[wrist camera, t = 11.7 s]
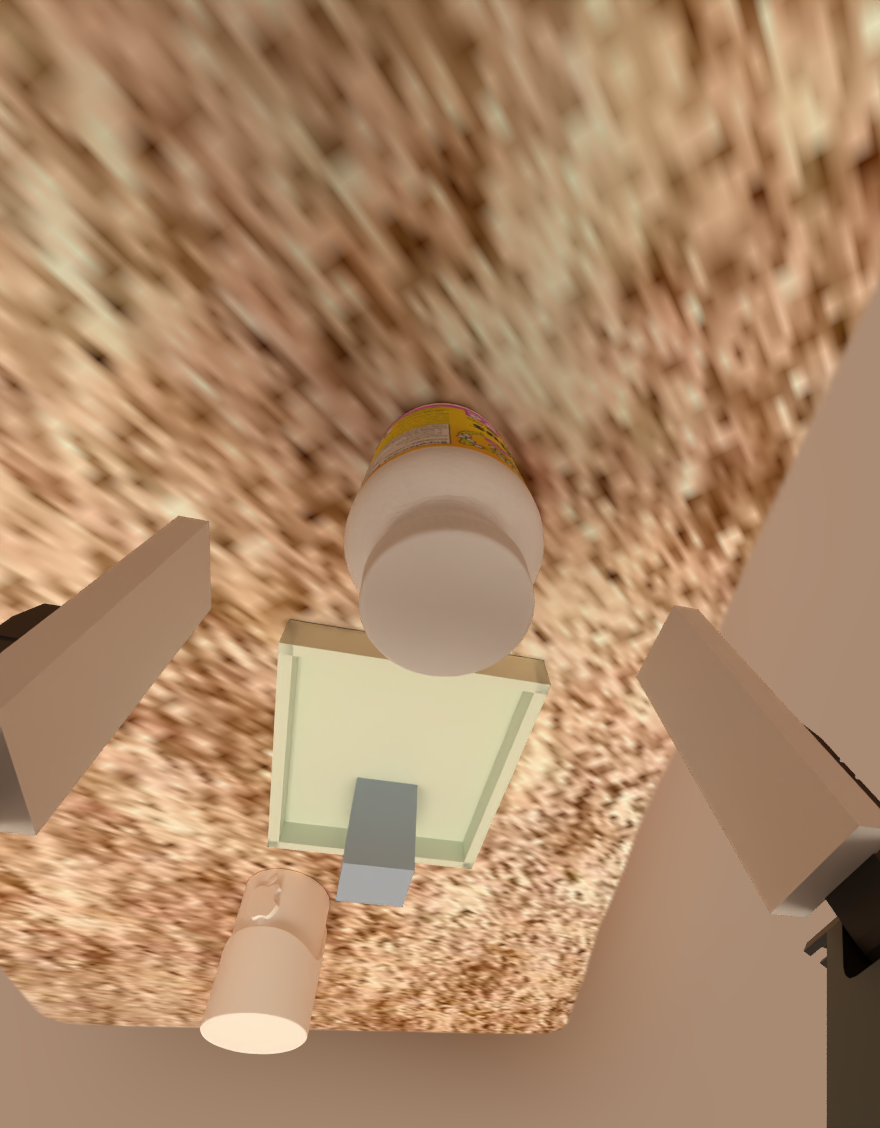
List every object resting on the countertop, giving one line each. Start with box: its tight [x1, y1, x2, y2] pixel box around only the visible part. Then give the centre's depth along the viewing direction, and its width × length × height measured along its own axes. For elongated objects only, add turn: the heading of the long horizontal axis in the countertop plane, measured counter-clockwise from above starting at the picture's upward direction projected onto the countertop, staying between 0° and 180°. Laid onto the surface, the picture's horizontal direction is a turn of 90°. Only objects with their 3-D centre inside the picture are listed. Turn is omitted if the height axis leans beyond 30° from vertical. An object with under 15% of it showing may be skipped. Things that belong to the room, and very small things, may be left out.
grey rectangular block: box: [336, 777, 418, 907], centre depth 33 cm, size 4×4×6 cm
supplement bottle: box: [344, 403, 544, 677], centre depth 18 cm, size 7×7×13 cm
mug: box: [200, 869, 330, 1054], centre depth 39 cm, size 12×9×8 cm
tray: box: [268, 620, 551, 869], centre depth 32 cm, size 20×16×2 cm
